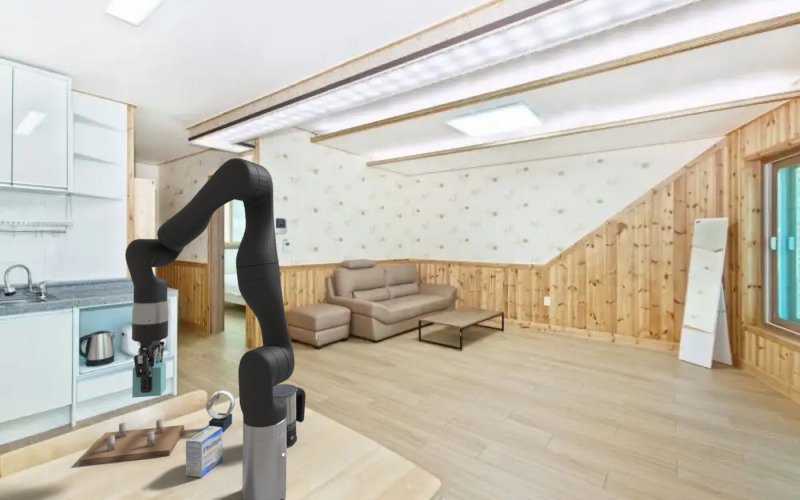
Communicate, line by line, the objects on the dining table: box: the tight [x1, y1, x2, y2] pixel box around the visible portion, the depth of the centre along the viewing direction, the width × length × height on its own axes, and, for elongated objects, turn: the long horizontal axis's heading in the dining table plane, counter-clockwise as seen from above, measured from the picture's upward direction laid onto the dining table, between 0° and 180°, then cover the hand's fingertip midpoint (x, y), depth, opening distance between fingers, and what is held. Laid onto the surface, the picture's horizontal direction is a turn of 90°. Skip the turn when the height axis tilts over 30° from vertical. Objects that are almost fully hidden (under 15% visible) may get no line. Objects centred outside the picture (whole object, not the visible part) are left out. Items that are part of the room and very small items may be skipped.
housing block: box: [131, 361, 167, 399], centre depth 95 cm, size 6×4×7 cm, turn 106°
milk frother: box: [273, 383, 307, 449], centre depth 111 cm, size 14×16×15 cm
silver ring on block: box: [205, 389, 236, 433], centre depth 116 cm, size 6×8×11 cm
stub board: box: [78, 418, 185, 467], centre depth 105 cm, size 20×14×5 cm
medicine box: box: [185, 425, 224, 478], centre depth 95 cm, size 8×4×9 cm, turn 168°
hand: (149, 388), depth 95 cm, fingers closed on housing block, 4 cm apart
